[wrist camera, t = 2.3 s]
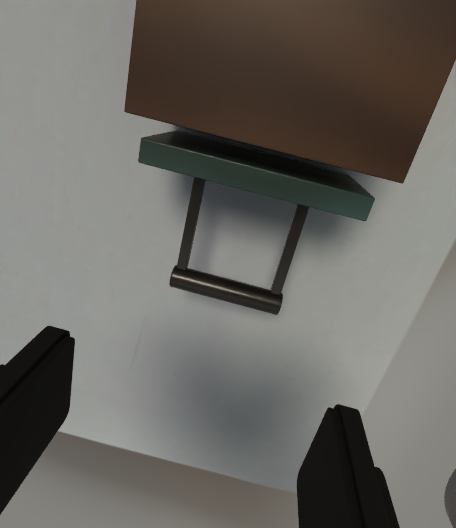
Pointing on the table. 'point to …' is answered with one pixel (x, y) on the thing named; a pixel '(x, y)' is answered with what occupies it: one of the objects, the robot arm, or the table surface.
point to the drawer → (254, 180)
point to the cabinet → (297, 74)
